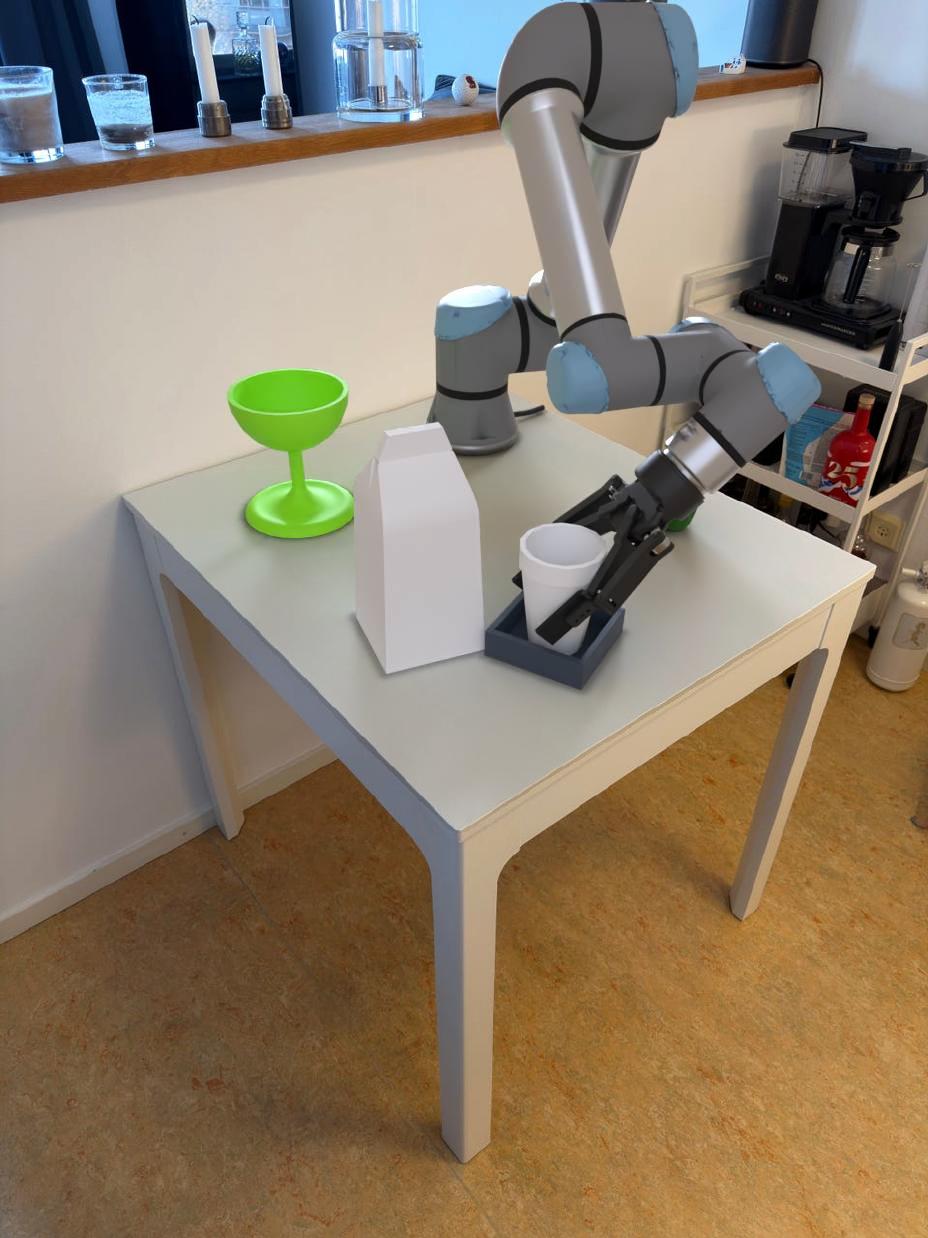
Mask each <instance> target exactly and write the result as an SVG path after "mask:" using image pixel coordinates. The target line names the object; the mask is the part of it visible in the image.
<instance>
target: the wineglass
mask: <svg viewBox="0 0 928 1238" xmlns="http://www.w3.org/2000/svg"><path fill="white" fill-rule="evenodd" d="M349 393H350V389H349V385H348V382H347V381H346V380H345V379H343V378H342V377H341V376H340V375H336V374H334V373H331V372H330V371H329V372H328V371H324V370H321V369H315V368H314V369H313V368H303V367H297V368H296V367H290V368H289V367H288V368H276V369H270V370H264V371H259V372H257V373H253V374H250V375H247V376H245V377H242V378H241V379H238V380H236V381H235V382H234V383H233V384H231V385H230V386H229V388H228V389H227V391H226V399H227V403H228V406H229V409H230V413H231V415H232V416H233V418H234V420H235V421H236V423H237V424H238V426H239V427H240V428H241V430H242V431H243V432H244V433H245V434H246V435H247V436H249V438H250V439H252V440H253V441H254V442H256V443H258V444H259V445H262V446H265V447H266V448H269V449H272V450H274V451H279V452H286V453H287V454H288V464H289V472H290V480H288V481H283V482H278V483H276V484H273V485H271V486H267V487H265V488H263V489H262V490H261V491H259V492H257V493H256V494H255V495H254V496H253V497H252V498H251V499H250V500H249V502H248V504H247V506H246V508H245V520H246V521H247V524H249V526H250V527H251V528H253V529H255V530H256V531H257V532H260V533H262V534H264V535H267V536H271V537H276V538H283V539H304V538H313V537H319V536H322V535H326V534H329V533H332V532H334V531H337V530H339V529H341V528H342V527H344V526H345V525H347V524H349V523H350V522H351V521H352V519H354V495H352V494H351V493H350V491H349V490H348V489H346V488H344V487H342V486H340V485H339V484H336V483H333V482H331V481H326V480H321V479H320V480H319V479H306V476H305V467H304V458H303V451H306V450H309V449H312V448H315V447H317V446H318V445H320V444H321V443H323V442H324V441H326V440H327V439H329V438H330V437H331V436H332V435H333V434H334V432H335V431H336V430H337V429H338V427H339V426H340V425H341V423H342V421H343V418H344V415H345V413H346V410H347V408H348V405H349Z"/></svg>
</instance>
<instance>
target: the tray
mask: <svg viewBox="0 0 928 1238" xmlns="http://www.w3.org/2000/svg"><path fill="white" fill-rule="evenodd" d="M625 614H626V608H624V607H622V606H621V607H620V608H619V609H618V611H617V612H616V613H615V614H614V615H609V614H607V613H606V612H604V611H603V610H596V611H595V612H594V613H593V614H591V615H590V619H589V623H588V626H587V630H586V633H585V637H584V641H583V642H582V646H581V647H580V649H579V650H578V651H577V652H575V653H573V654H571V655H566V654H563V653H561V652H558V651H555V650H552V649H549V648H546V647H543V646H540V645H538V644H535V643H532V642H529V639H528V632H527V621H526V611H525V601H524V591H523V590H522V589H521V591H520V592H519V593H518V595H517V596H516V597H514V599H513V600H512V601H511V602H510V603H509V604H508V606H507V607H505V608H504V610H503V611H502V612H501V613H500V614H499V615H498V616H497V618H495V619H494V621H492V623H491V624H490V625H489V626H488V627H487V628H486V629H485V630H484V640H485V650H484V656H486V657H489V658H491V659H494V660H497V661H500V662H503V663H506V664H508V665H511V666H514V667H516V668H519V669H521V670H525V671H528V672H531V673H533V674H536V675H538V676H542V677H543V678H547V679H550V680H553V681H555V682H557V683H560V684H564V685H566V686H569V687H571V688H573V689H574V688H575V689H577V690H579V691H581V690H582V689H583V688H584V686H585V685H586V684H587V682H588V681H589V680H590V678H591V677H592V676H593V674H594V672H595V671H596V670H597V669H598V667H599V665H600V664H601V663H602V661H603V660H604V658H605V657H606V656H607V654H608V653H609V652H610V650H611V649H612V647H614V645H615V643H616V642H617V640H618V639H619V637H620V636H621V635H622V633H623V630H624V621H625Z"/></svg>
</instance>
